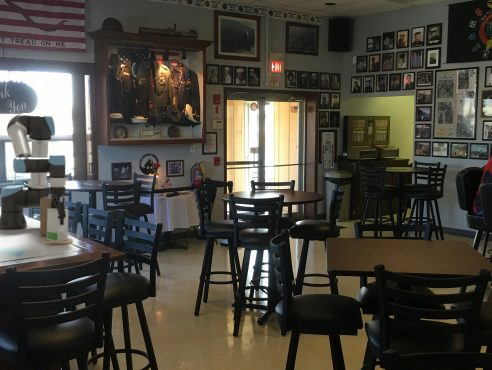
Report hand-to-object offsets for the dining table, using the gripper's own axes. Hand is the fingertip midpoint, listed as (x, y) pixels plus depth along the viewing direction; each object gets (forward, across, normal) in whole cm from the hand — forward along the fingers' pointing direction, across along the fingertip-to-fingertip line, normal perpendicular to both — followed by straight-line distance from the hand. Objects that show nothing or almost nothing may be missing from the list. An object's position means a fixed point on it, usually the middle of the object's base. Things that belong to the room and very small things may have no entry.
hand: (57, 229), depth 274 cm
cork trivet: (+6, 0, 0) cm, 6 cm away
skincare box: (+6, 0, 0) cm, 6 cm away
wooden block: (+7, -21, +3) cm, 22 cm away
